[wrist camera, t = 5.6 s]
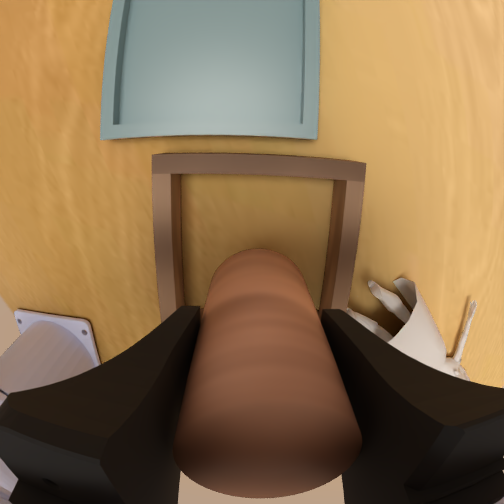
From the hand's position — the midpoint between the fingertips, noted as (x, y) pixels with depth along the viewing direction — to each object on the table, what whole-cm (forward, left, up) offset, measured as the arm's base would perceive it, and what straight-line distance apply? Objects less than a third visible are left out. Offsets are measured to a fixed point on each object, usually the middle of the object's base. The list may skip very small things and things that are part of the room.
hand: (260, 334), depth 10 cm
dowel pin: (0, 0, -3) cm, 3 cm away
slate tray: (+14, +3, -10) cm, 17 cm away
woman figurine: (-8, -14, -10) cm, 19 cm away
